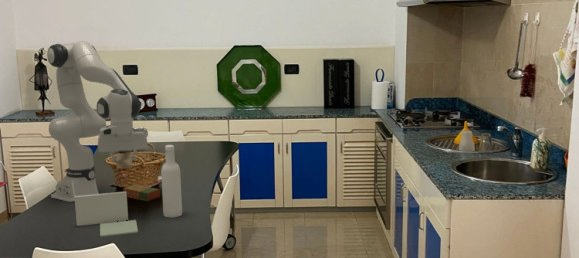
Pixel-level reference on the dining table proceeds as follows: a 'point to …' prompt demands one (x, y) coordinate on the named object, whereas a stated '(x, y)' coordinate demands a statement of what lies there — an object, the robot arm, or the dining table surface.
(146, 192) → the carton
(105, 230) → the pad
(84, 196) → the screen
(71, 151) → the robot arm
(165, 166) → the bottle
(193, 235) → the dining table surface
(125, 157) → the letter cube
